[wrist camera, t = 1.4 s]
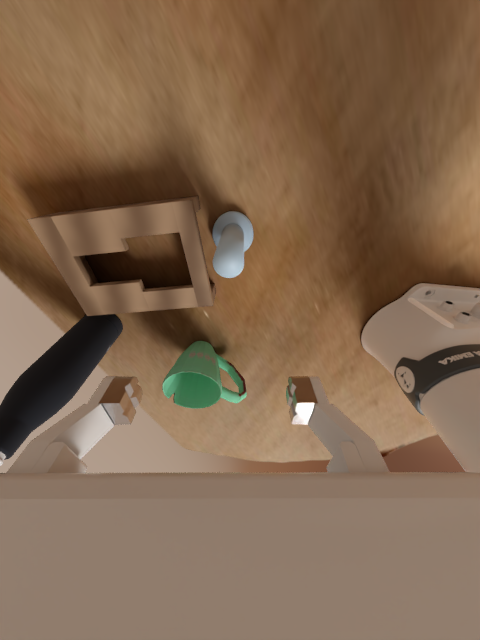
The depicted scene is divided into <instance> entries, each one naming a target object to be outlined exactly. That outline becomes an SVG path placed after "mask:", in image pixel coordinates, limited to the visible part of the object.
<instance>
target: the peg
mask: <svg viewBox="0 0 480 640" xmlns="http://www.w3.org/2000/svg"><path fill="white" fill-rule="evenodd" d="M213 240H214V242H215V244H216V246H217V249H216V252H215V255H214V258H213V267H214V269H215V271H216V272H217V273H218V274H219V275H220V276H222V277H225V278H233V277H236V276H237V275H239V274H240V273H241V271H242V270H243V267H244V252H245V251H246V250H247V249H248V248H249V247H250V245H251V243H252V240H253V227H252V224H251V222H250V220H249V219H248V218H247V217H246V216H245V215H244V214H242V213H240V212H237V211H228V212H225V213H224V214H222V215H221V216H220V217H219V218H218V219H217V221H216V222H215V224H214V227H213Z"/></svg>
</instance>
